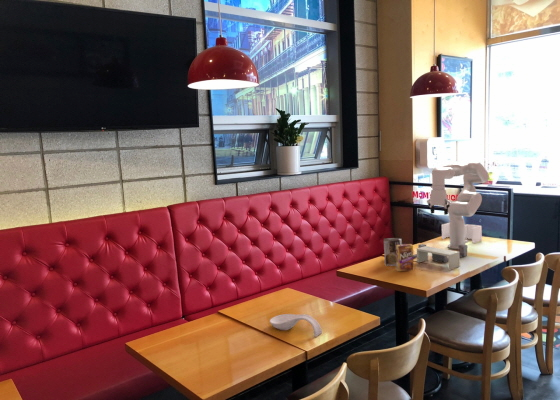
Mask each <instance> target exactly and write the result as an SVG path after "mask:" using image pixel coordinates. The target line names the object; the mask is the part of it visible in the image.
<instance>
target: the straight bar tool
mask: <svg viewBox="0 0 560 400" xmlns="http://www.w3.org/2000/svg"><path fill="white" fill-rule="evenodd" d="M424 246H427V244H426V243H421V244H418V245H417V247H418V248H421V247H424ZM414 259H417V253H415V254H413V260H414Z"/></svg>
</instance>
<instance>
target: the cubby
mask: <svg viewBox="0 0 560 400" xmlns="http://www.w3.org/2000/svg"><path fill="white" fill-rule="evenodd" d="M432 253H433V254H438V255H443V256H447V258H448V262H447V263H448V270H453V269H456V268H458V267H460V266H461V265H460V264H461V263H460V262H461V261H460V260H461V259H460V252H459V251H458V250H457V251H456V250H451V249H445V248H439V247H434V246H428V245H426V246H424V247H421V248H416V254H417V258H416V263H422V262H425V261H428V260H429V254H432Z"/></svg>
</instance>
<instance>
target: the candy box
mask: <svg viewBox="0 0 560 400" xmlns="http://www.w3.org/2000/svg"><path fill="white" fill-rule="evenodd" d="M413 255H414V245H413V244H412V243H402V244H401V245H396V260H397V266H396V271H397V272H409V271H414V259H413Z"/></svg>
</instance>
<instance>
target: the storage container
mask: <svg viewBox="0 0 560 400" xmlns="http://www.w3.org/2000/svg"><path fill="white" fill-rule="evenodd" d="M482 228H483V227H482V225H477V224H466V223H465V240H471V243H472V244H476V243H479V242H481V240H482V239H483V237H482V235H483V233H482V232H483V230H482ZM446 237H447V238H450V222H447V223H442V224H441V239H442V240H445V239H446ZM467 238H468V239H467ZM478 241H479V242H478Z"/></svg>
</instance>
